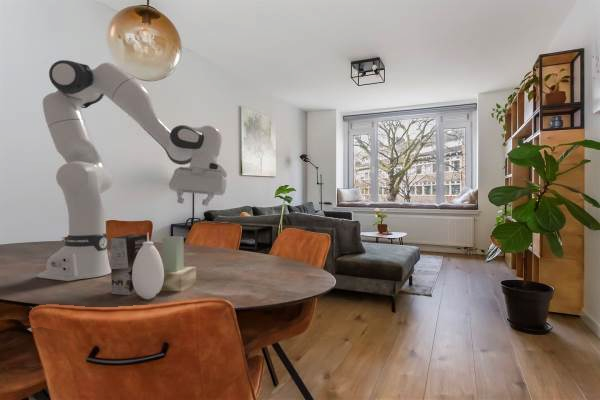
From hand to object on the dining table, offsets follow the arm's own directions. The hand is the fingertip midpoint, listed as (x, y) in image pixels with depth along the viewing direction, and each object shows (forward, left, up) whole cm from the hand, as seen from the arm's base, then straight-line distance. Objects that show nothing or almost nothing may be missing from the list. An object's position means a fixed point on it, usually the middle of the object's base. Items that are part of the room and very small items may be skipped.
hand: (192, 204), depth 121 cm
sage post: (0, -14, -20) cm, 24 cm away
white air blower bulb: (0, -27, -25) cm, 37 cm away
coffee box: (-10, -20, -25) cm, 34 cm away
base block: (0, -14, -25) cm, 28 cm away
